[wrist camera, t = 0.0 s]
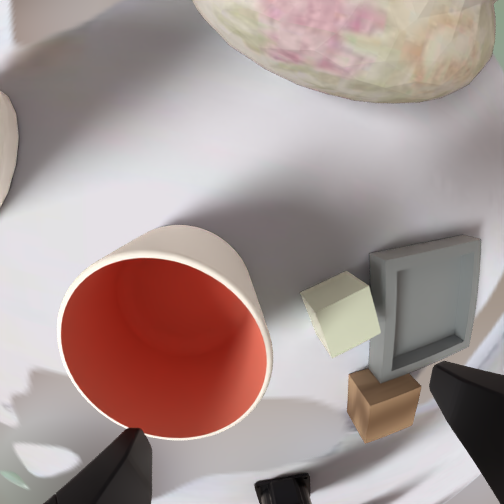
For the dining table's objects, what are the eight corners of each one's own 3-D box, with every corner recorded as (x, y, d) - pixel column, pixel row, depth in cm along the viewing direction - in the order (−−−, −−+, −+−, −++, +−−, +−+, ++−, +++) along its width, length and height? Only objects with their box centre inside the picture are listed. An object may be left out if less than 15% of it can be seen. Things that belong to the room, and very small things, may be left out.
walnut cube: (389, 396, 26) (412, 425, 21) (346, 411, 26) (364, 443, 21) (394, 359, 25) (421, 386, 20) (348, 373, 24) (370, 405, 20)
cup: (257, 228, 21) (288, 260, 11) (244, 354, 23) (260, 445, 13) (119, 218, 20) (45, 241, 10) (122, 343, 22) (77, 423, 12)
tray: (454, 336, 25) (468, 346, 23) (368, 368, 24) (380, 383, 22) (462, 234, 23) (480, 239, 20) (369, 253, 22) (385, 260, 20)
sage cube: (358, 312, 23) (381, 332, 19) (315, 333, 23) (332, 358, 19) (345, 270, 22) (368, 285, 18) (299, 292, 22) (315, 312, 18)
